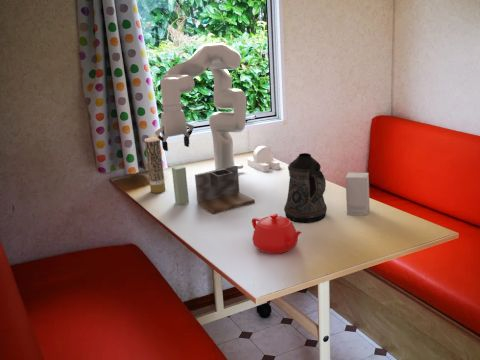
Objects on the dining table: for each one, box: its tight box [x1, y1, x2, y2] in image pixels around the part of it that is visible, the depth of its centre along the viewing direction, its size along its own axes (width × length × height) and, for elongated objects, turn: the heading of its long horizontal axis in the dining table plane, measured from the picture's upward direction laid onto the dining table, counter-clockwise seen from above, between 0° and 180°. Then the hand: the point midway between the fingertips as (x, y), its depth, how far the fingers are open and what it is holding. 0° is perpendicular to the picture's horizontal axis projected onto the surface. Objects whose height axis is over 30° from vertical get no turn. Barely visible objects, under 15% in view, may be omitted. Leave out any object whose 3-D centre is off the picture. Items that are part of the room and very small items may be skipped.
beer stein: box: [283, 152, 328, 224], centre depth 213 cm, size 16×19×25 cm
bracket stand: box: [194, 164, 256, 215], centre depth 234 cm, size 20×14×14 cm
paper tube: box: [144, 136, 166, 194], centre depth 255 cm, size 7×7×25 cm
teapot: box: [251, 213, 303, 255], centre depth 189 cm, size 25×16×12 cm, turn 38°
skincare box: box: [345, 171, 370, 216], centre depth 215 cm, size 8×7×16 cm
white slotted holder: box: [246, 145, 281, 173], centre depth 284 cm, size 10×18×11 cm, turn 28°
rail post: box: [171, 164, 190, 206], centre depth 239 cm, size 4×4×16 cm
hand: (176, 148), depth 234 cm, fingers open, 9 cm apart
